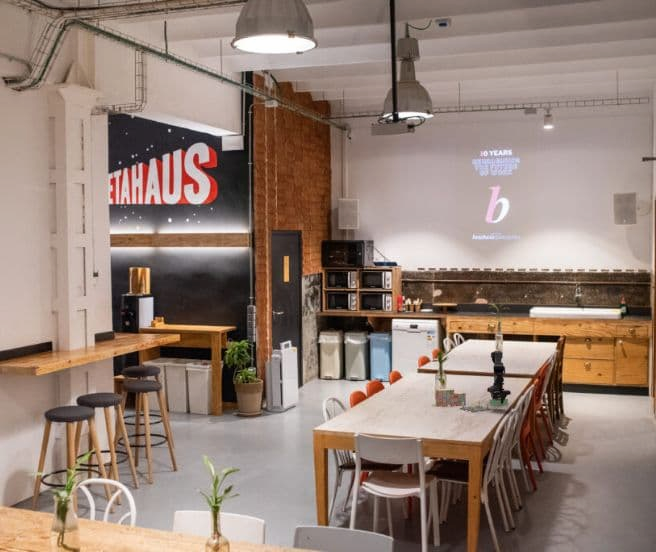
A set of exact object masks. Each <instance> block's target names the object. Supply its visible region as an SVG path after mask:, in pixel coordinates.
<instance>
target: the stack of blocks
mask: <svg viewBox="0 0 656 552" xmlns="http://www.w3.org/2000/svg"><path fill="white" fill-rule="evenodd" d="M462 402H464V406H466V403H467V402H466V392H463V391H456V392H455V389H453V388H436V389H435V405H436V406H437V405H438V406H437V407H439V406H442V407H449V406H448V405H462Z"/></svg>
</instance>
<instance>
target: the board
mask: <svg viewBox="0 0 656 552" xmlns="http://www.w3.org/2000/svg"><path fill="white" fill-rule="evenodd" d="M508 404H509V399H508V398H505V400H504V402H503V404H501V398H497V399H492V398H491V399H489V406H491V407H500V406H508Z"/></svg>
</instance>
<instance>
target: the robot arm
mask: <svg viewBox="0 0 656 552" xmlns="http://www.w3.org/2000/svg"><path fill="white" fill-rule="evenodd" d="M503 357H504V355H503V352H502V351H500V350H494V351H492V352H491V353H490V358H491V361H492V363H493V368H492V369H493V370H492V371H493V384H492V385H491V386H489V387H487V389H486V392H487V393H489V394H490V397H491V399H497V398H501V404H503V402H504V400H505V399H507V396H508V395H509V396H510V395H512V392H511V390H508V389H505V388H504V385H505V382H504V381H505V378H504V375H505V374H506V367H505V365H504V363H503V361H502V359H503Z"/></svg>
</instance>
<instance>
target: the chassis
mask: <svg viewBox="0 0 656 552" xmlns="http://www.w3.org/2000/svg"><path fill="white" fill-rule="evenodd" d="M461 409H464V410H463V411H465V410H467V411H466V412H469V411H471V412H470V413H479V412H478V411H480V412H486V411H485V410H487V411H491V410H492V409H491V407H489V401H486V407H485V406H484V405H483V404H481V399H478V400H477V403H476V405H473V403H471V404H468V405H467V406H465V405H464V402H462V406H461V407H460V408H459V410H461Z"/></svg>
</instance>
